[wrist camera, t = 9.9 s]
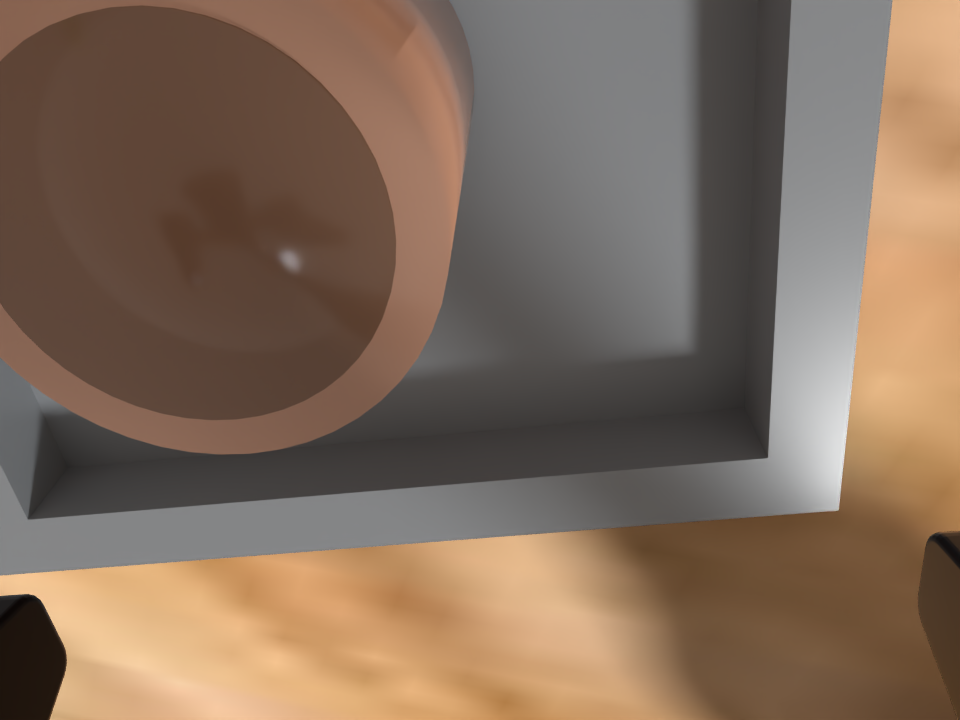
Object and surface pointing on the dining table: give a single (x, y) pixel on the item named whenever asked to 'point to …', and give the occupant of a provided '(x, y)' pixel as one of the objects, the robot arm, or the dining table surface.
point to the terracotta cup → (226, 208)
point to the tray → (559, 310)
